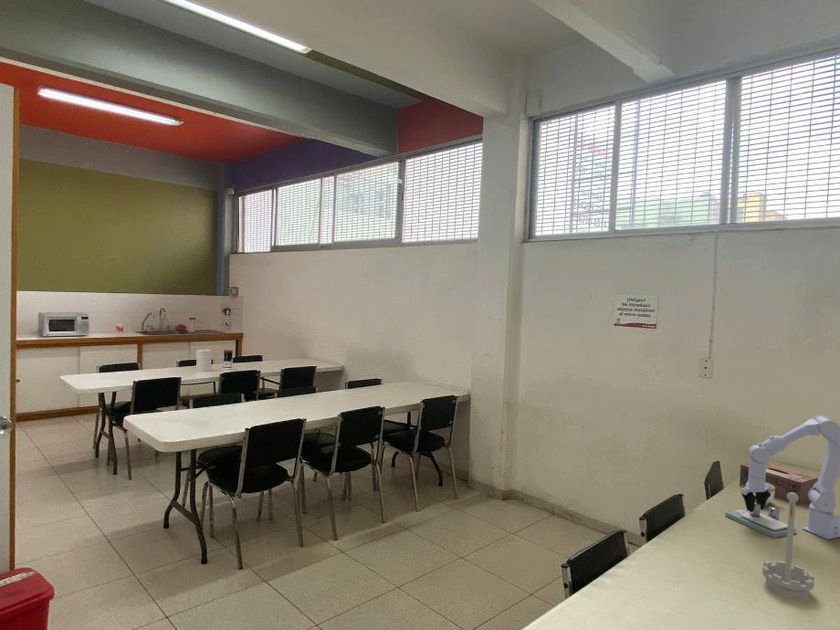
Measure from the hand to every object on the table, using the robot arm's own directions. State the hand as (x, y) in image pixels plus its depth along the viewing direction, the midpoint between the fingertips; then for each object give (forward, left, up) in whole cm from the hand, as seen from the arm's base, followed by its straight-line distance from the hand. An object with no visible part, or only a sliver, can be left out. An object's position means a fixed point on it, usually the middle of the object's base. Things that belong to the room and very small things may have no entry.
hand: (755, 509), depth 210 cm
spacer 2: (-2, -9, -5) cm, 10 cm away
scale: (-2, 0, -5) cm, 5 cm away
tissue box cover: (+20, -42, -5) cm, 47 cm away
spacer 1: (0, 0, -2) cm, 2 cm away
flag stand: (-36, +36, -5) cm, 52 cm away
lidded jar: (+14, -22, -5) cm, 26 cm away
